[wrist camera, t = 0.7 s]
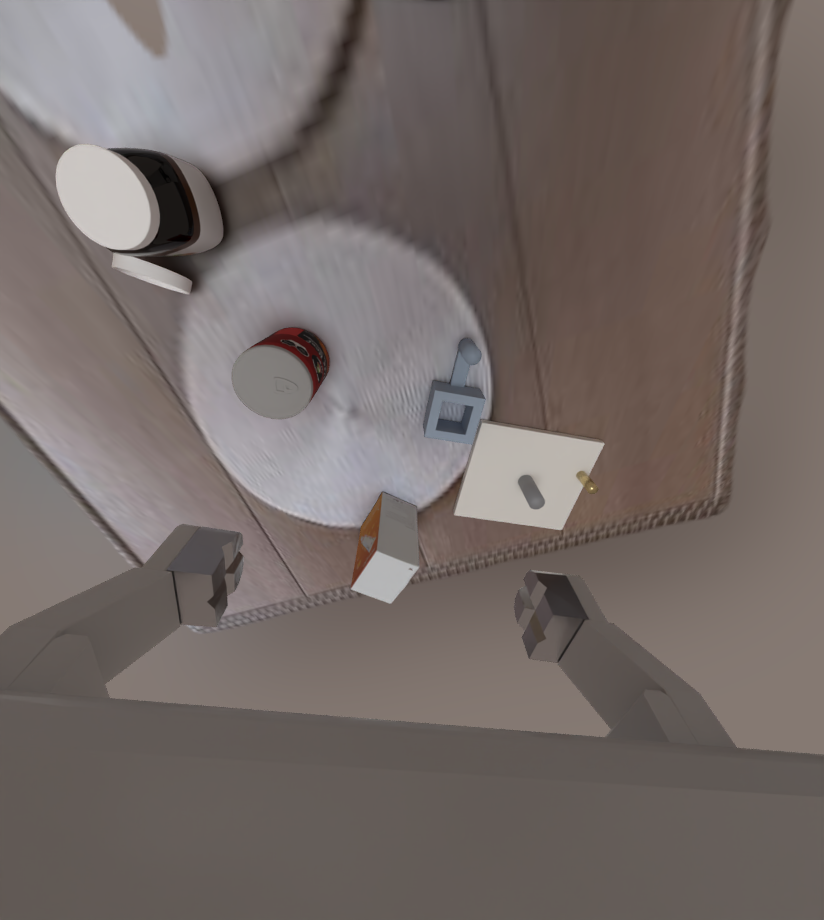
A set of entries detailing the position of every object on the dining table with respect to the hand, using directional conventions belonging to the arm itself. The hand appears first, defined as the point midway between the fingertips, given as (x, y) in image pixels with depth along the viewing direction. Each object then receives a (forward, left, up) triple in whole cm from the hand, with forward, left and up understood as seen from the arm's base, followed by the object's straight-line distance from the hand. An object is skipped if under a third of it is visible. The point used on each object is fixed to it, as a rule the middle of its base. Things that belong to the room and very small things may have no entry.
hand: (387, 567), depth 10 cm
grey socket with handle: (+6, +9, -39) cm, 41 cm away
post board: (+18, +22, -39) cm, 49 cm away
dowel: (+15, +30, -38) cm, 51 cm away
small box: (+29, +3, -40) cm, 49 cm away
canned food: (+6, -12, -40) cm, 42 cm away
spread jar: (-5, -25, -40) cm, 47 cm away
